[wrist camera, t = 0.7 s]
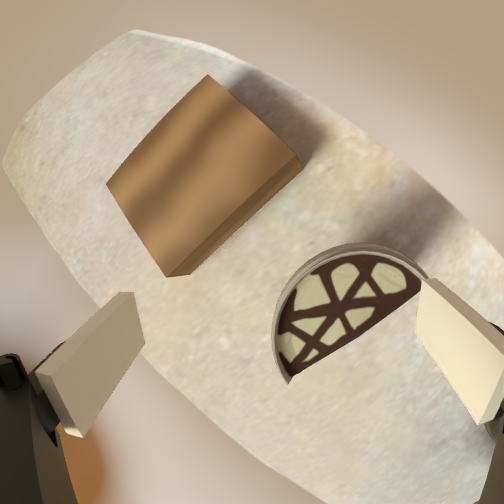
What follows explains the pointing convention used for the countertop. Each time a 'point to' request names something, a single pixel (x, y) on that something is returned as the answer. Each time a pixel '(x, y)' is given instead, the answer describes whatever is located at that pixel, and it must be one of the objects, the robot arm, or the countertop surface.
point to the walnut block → (200, 177)
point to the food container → (338, 301)
